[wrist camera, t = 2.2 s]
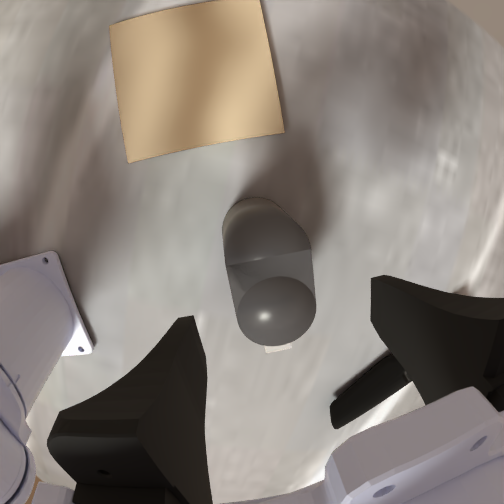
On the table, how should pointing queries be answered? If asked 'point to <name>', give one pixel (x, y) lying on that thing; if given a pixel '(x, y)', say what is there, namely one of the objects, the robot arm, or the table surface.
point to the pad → (194, 78)
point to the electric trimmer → (369, 391)
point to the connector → (269, 273)
